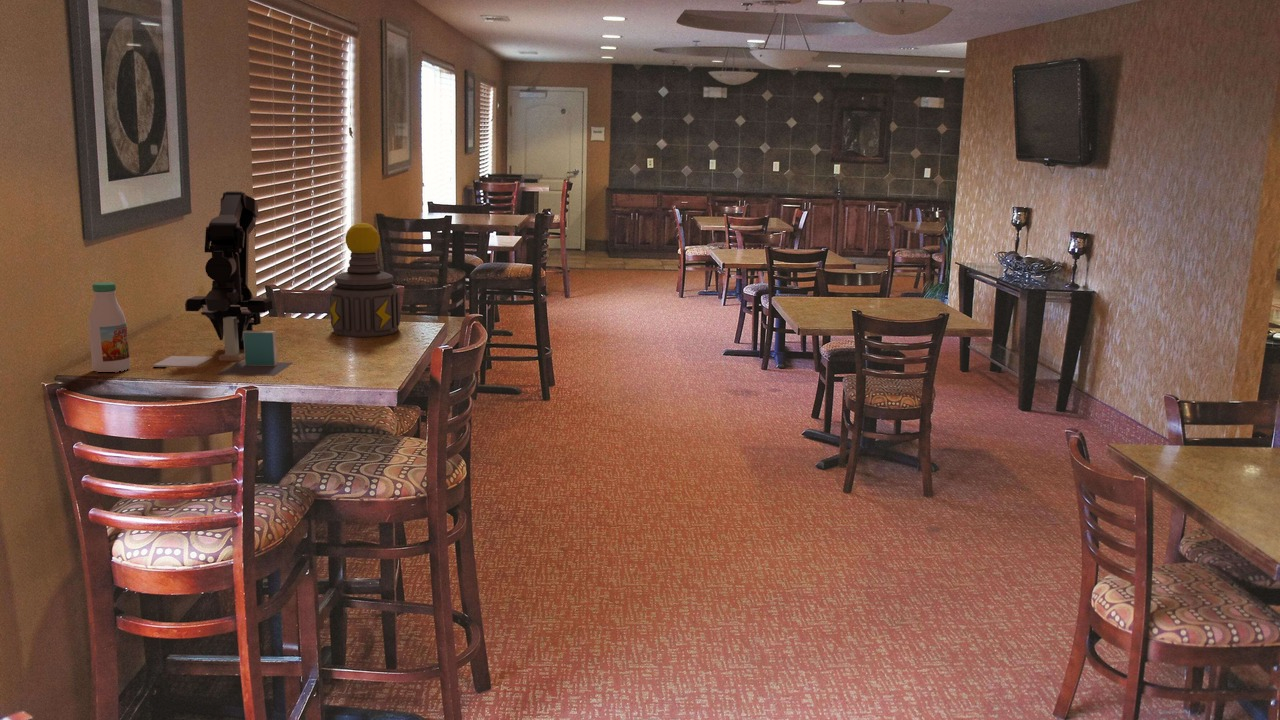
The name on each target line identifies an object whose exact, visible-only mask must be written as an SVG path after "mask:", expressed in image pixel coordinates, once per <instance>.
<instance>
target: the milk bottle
mask: <svg viewBox="0 0 1280 720" xmlns="http://www.w3.org/2000/svg"><path fill="white" fill-rule="evenodd" d="M116 290H117V289H116V283H115V282H110V281H109V282H108V281H107V282H106V281H105V282H104V281H103V282H102V281H101V282H95V283H93V284H92V292H93V295H94V300H93V304H92V307H91V308H90V312H89V315H88V335H89V346H90V347H89V348H90V354H91V355H90V356H91V366H92V367H91V368H92V370H93V372H94V371H98V372H115V373H120V372H119V371H121V372H125V371H128V370H130V368H131V359H130V346H129V335H128V327H127V319H126V316H125V313H124V311H123V308H122V306H120V304H119V302H118V300H117V297H116V293H117V291H116ZM127 369H128V370H127ZM124 370H125V371H124ZM98 372H97V373H98Z"/></svg>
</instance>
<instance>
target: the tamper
mask: <svg viewBox="0 0 1280 720" xmlns="http://www.w3.org/2000/svg"><path fill="white" fill-rule="evenodd" d="M223 330H224V335H223V341H224V353H222V354H220V355H218V361H234V362H235V361H236V362H238V361H239V362H241V361H242V360H245V355H244V352H240V349H239V341H238V326H237V317H225V318H223Z"/></svg>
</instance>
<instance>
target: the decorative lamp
mask: <svg viewBox="0 0 1280 720" xmlns="http://www.w3.org/2000/svg"><path fill="white" fill-rule="evenodd" d="M380 243H381V236H380V234H379V232H378V230H377V229H376V228H375V227H374V226H373V225H372V224H370V223H368V222H358V223H355V224H353V225H351V226H350V228H348V230H347V231H346V235H345V244H346V247H347V249H348V250H349V251H350V252H351V253H350V259H349V261H348V265H349V266H348V267H347V269H346V271H345V272H340V273H339V274H337V275H335V276H334V283H336V284H334V285H333V286H331V292H330V293H329V303H330V305H329V307H330V308H329V311H330V326H331V327H332V329H333V334H335V335H338V336H341V337H347V338H377V337H385V336H389V335H393V334H395V333H396V332H398V330H399V326H400V324H401V317H400V316H401V312H400V311H401V310H400V292H399V291H398V286H397V285H396V284H394V283H393V282H394V276H393V275H392V274H390V273H388V272H386V271H381V266H379V265H378V264H379V261H378V259H377V253H376V251H377V250H378V249H379V246H380Z"/></svg>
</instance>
